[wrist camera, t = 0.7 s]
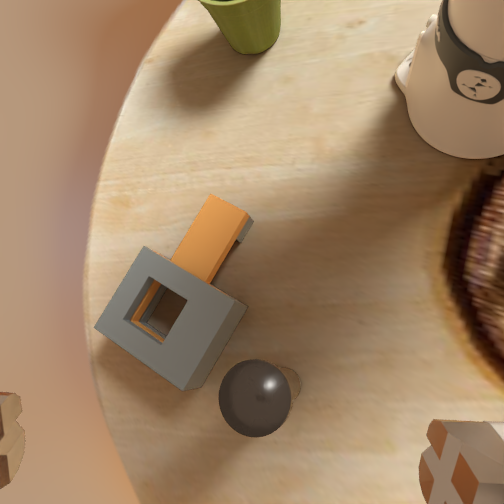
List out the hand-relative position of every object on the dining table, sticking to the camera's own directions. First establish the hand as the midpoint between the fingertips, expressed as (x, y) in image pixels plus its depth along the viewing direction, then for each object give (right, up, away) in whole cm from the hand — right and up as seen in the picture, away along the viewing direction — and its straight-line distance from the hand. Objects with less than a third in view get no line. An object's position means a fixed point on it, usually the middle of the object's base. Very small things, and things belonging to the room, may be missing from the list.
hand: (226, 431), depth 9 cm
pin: (+4, -11, +37) cm, 39 cm away
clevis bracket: (-5, 0, +42) cm, 42 cm away
